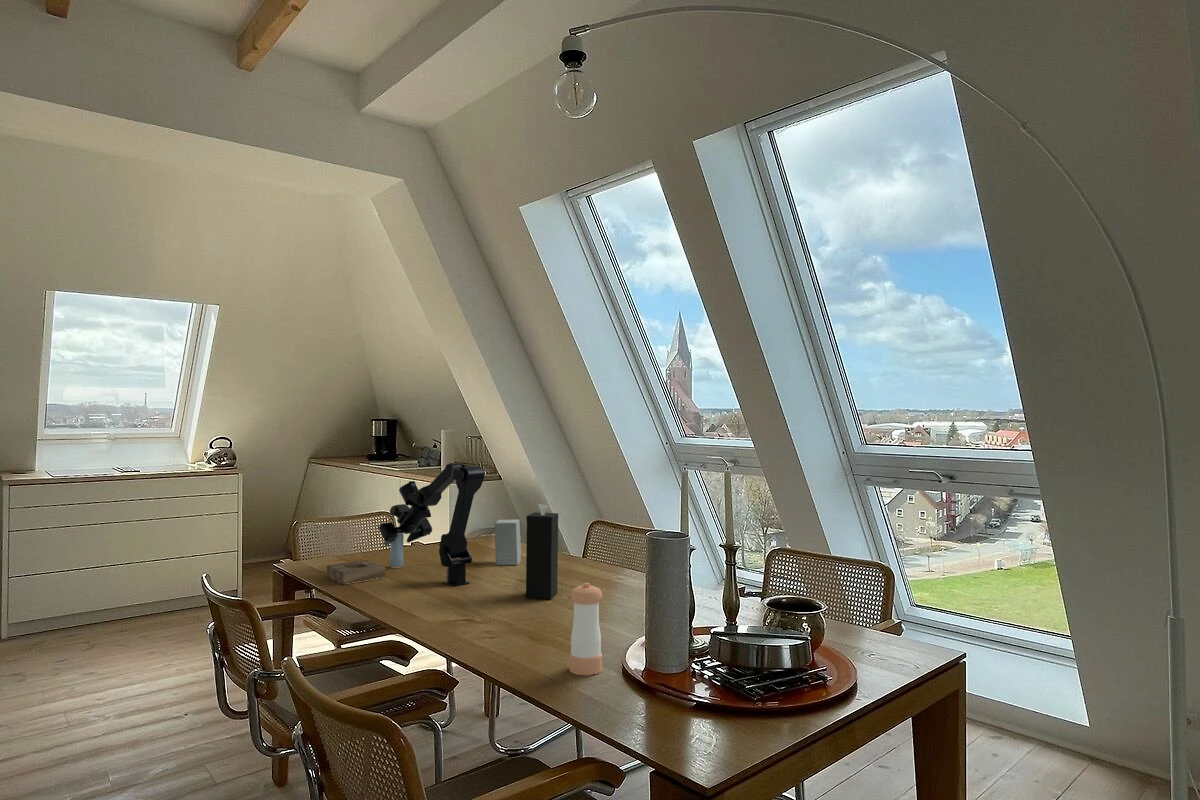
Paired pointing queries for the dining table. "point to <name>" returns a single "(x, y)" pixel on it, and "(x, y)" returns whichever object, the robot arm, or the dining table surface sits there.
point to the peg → (396, 551)
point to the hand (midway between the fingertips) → (396, 543)
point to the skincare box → (507, 542)
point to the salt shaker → (586, 631)
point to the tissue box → (542, 554)
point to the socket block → (355, 571)
